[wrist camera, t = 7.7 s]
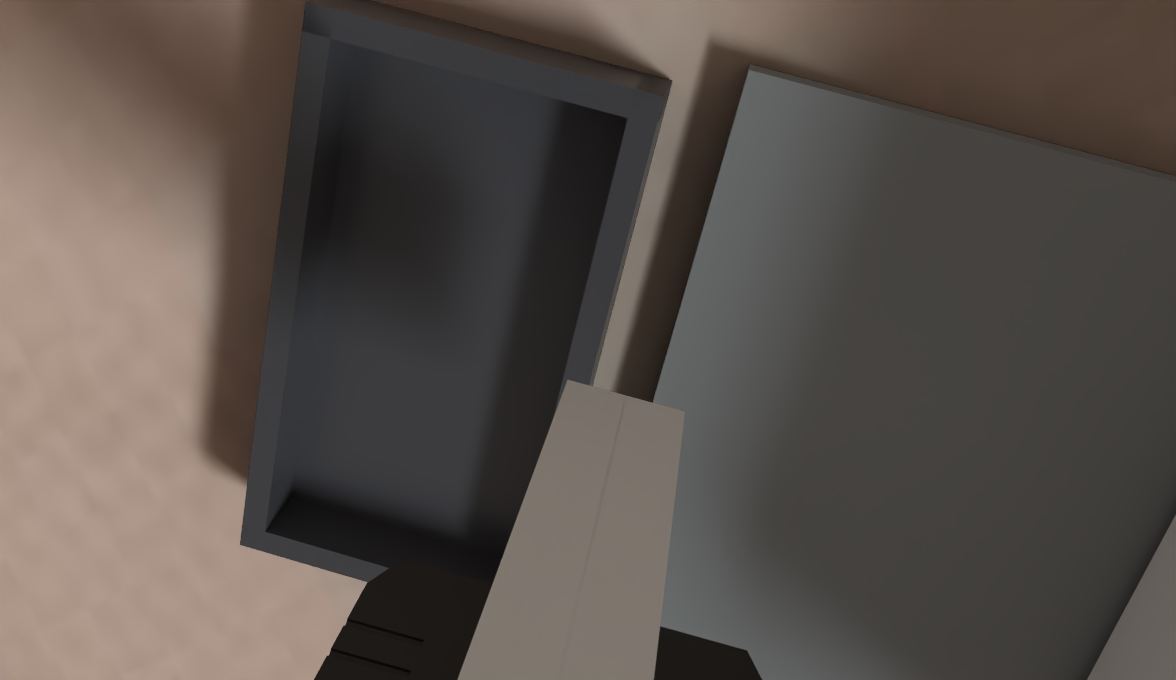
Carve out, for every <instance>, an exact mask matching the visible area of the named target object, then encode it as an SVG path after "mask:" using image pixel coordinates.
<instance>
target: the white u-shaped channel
mask: <svg viewBox="0 0 1176 680" xmlns="http://www.w3.org/2000/svg"><path fill="white" fill-rule="evenodd" d="M1087 680H1176V515H1175V517H1174V519H1173V521H1172V523H1171V524H1170V526H1169V528H1168V530H1167V532H1166V534H1165V536H1164V537H1163V539H1162V541H1161V543H1160V545H1159V547H1158V549H1157V550H1156V552H1155V554H1154V556H1153V558H1152V560H1151V562H1150V563H1149V565H1148V567H1147V569H1146V571H1145V573H1144V575H1143V576H1142V578H1141V580H1140V582H1139V584H1138V586H1137V588H1136V589H1135V591H1134V593H1133V595H1132V597H1131V599H1130V601H1129V602H1128V604H1127V606H1126V608H1125V610H1124V612H1123V614H1122V615H1121V617H1120V619H1119V621H1118V623H1117V625H1116V627H1115V629H1114V630H1113V632H1112V634H1111V636H1110V638H1109V640H1108V642H1107V643H1106V645H1105V647H1104V649H1103V651H1102V653H1101V655H1100V656H1099V658H1098V660H1097V662H1096V664H1095V666H1094V668H1093V669H1092V671H1091V673H1090V675H1089V677H1088V679H1087Z"/></svg>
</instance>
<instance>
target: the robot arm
mask: <svg viewBox="0 0 1176 680" xmlns="http://www.w3.org/2000/svg"><path fill="white" fill-rule="evenodd" d="M684 416H685V411H681V410H677V409H674V408H670V407H666V406H663V405H659V404H655V403H652V402H648V401H644V400H641V399H637V398H633V397H630V396H626V395H622V394H619V393H615V392H611V391H608V390H604V389H600V388H597V387H593V386H589V385H585V384H582V383H578V382H574V381H571V380H567V383H566V385H565V388H564V391H563V394H562V396H561V399H560V402H559V404H558V407H557V410H556V413H555V415H554V418H553V421H552V424H551V426H550V429H549V432H548V434H547V437H546V440H545V443H544V445H543V448H542V451H541V454H540V456H539V459H538V462H537V464H536V467H535V470H534V473H533V475H532V478H531V481H530V483H529V486H528V489H527V492H526V494H525V497H524V500H523V503H522V505H521V508H520V511H519V513H518V516H517V519H516V522H515V524H514V527H513V530H512V533H511V535H510V538H509V541H508V543H507V546H506V549H505V552H504V554H503V557H502V560H501V562H500V565H499V568H498V571H497V573H496V576H495V579H494V582H493V583H491V582H487V581H483V580H480V579H476V578H473V577H469V576H466V575H462V574H458V573H455V572H451V571H448V570H444V569H440V568H437V567H433V566H430V565H426V564H423V563H419V562H415V561H412V560H408V559H405V558H403V559H402V560H400V561H399V562H397V563H396V564H395V565H393V566H392V567H390V568H389V569H387V570H386V571H384V572H383V573H381V574H380V575H378V576H377V577H375V578H374V579H372V580H371V581H369V582H368V583H367V584H366V586H365V588H364V590H363V591H362V593H361V595H360V597H359V599H358V601H357V602H356V604H355V606H354V608H353V610H352V611H351V613H350V615H349V617H348V619H347V623H346V625H345V626H343V628H342V630H341V631H340V633H339V635H338V637H337V639H336V641H335V642H334V644H333V646H332V648H331V651H330V654H329V656H327V657H326V659H325V661H324V662H323V664H322V666H321V668H320V670H319V671H318V673H317V675H316V677H315V679H314V680H762V678H761V676H760V674H759V673H758V671H757V669H756V667H755V665H754V663H753V661H752V659H751V657H750V655H749V653H748V651H747V650H744V649H740V648H737V647H733V646H729V645H726V644H722V643H719V642H715V641H712V640H708V639H704V638H701V637H697V636H694V635H690V634H686V633H683V632H679V631H676V630H672V629H668V628H665V627H661V626H660V622H661V614H662V605H663V597H664V588H665V579H666V571H667V562H668V554H669V545H670V537H671V528H672V519H673V511H674V502H675V494H676V485H677V476H678V468H679V459H680V451H681V442H682V433H683V425H684Z"/></svg>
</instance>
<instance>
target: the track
mask: <svg viewBox="0 0 1176 680" xmlns="http://www.w3.org/2000/svg"><path fill="white" fill-rule="evenodd" d="M652 403H655V404H659V405H663V406H666V407H670V408H674V409H677V410H681V411H685V416H684V425H683V433H682V442H681V451H680V459H679V468H678V476H677V485H676V494H675V502H674V511H673V519H672V528H671V537H670V545H669V554H668V562H667V571H666V579H665V588H664V597H663V605H662V614H661V622H660V626H661V627H665V628H668V629H672V630H676V631H679V632H683V633H686V634H690V635H694V636H697V637H701V638H704V639H708V640H712V641H715V642H719V643H722V644H726V645H729V646H733V647H737V648H740V649H744V650H747V651H748V653H749V655H750V657H751V659H752V661H753V663H754V665H755V667H756V669H757V671H758V673H759V674H760V676H761V678H762V680H1087V679H1088V677H1089V675H1090V673H1091V671H1092V669H1093V668H1094V666H1095V664H1096V662H1097V660H1098V658H1099V656H1100V655H1101V653H1102V651H1103V649H1104V647H1105V645H1106V643H1107V642H1108V640H1109V638H1110V636H1111V634H1112V632H1113V630H1114V629H1115V627H1116V625H1117V623H1118V621H1119V619H1120V617H1121V615H1122V614H1123V612H1124V610H1125V608H1126V606H1127V604H1128V602H1129V601H1130V599H1131V597H1132V595H1133V593H1134V591H1135V589H1136V588H1137V586H1138V584H1139V582H1140V580H1141V578H1142V576H1143V575H1144V573H1145V571H1146V569H1147V567H1148V565H1149V563H1150V562H1151V560H1152V558H1153V556H1154V554H1155V552H1156V550H1157V549H1158V547H1159V545H1160V543H1161V541H1162V539H1163V537H1164V536H1165V534H1166V532H1167V530H1168V528H1169V526H1170V524H1171V523H1172V521H1173V519H1174V517H1175V515H1176V176H1174V175H1170V174H1166V173H1162V172H1159V171H1155V170H1151V169H1147V168H1143V167H1140V166H1136V165H1132V164H1128V163H1124V162H1121V161H1117V160H1113V159H1109V158H1105V157H1102V156H1098V155H1094V154H1090V153H1086V152H1083V151H1079V150H1075V149H1071V148H1067V147H1064V146H1060V145H1056V144H1052V143H1048V142H1045V141H1041V140H1037V139H1033V138H1029V137H1026V136H1022V135H1018V134H1014V133H1010V132H1007V131H1003V130H999V129H995V128H991V127H988V126H984V125H980V124H976V123H972V122H969V121H965V120H961V119H957V118H953V117H950V116H946V115H942V114H938V113H934V112H931V111H927V110H923V109H919V108H915V107H911V106H908V105H904V104H900V103H896V102H892V101H889V100H885V99H881V98H877V97H873V96H870V95H866V94H862V93H858V92H854V91H851V90H847V89H843V88H839V87H835V86H832V85H828V84H824V83H820V82H816V81H813V80H809V79H805V78H801V77H797V76H794V75H790V74H786V73H782V72H778V71H775V70H771V69H767V68H763V67H759V66H756V65H752V64H749V68H748V71H747V75H746V78H745V82H744V85H743V89H742V92H741V95H740V99H739V102H738V106H737V109H736V113H735V116H734V120H733V123H732V127H731V130H730V134H729V137H728V140H727V144H726V147H725V151H724V154H723V158H722V161H721V165H720V168H719V172H718V175H717V178H716V182H715V185H714V189H713V192H712V196H711V199H710V203H709V206H708V210H707V213H706V217H705V220H704V223H703V227H702V230H701V234H700V237H699V241H698V244H697V248H696V251H695V255H694V258H693V262H692V265H691V268H690V272H689V275H688V279H687V282H686V286H685V289H684V293H683V296H682V300H681V303H680V306H679V310H678V313H677V317H676V320H675V324H674V327H673V331H672V334H671V338H670V341H669V345H668V348H667V351H666V355H665V358H664V362H663V365H662V369H661V372H660V376H659V379H658V383H657V386H656V390H655V393H654V396H653V400H652Z"/></svg>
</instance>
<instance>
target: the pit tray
mask: <svg viewBox="0 0 1176 680" xmlns="http://www.w3.org/2000/svg"><path fill="white" fill-rule="evenodd" d="M671 84H672V80H668V79H665V78H661V77H657V76H653V75H650V74H646V73H642V72H638V71H635V70H631V69H627V68H623V67H619V66H616V65H612V64H608V63H604V62H601V61H597V60H593V59H589V58H585V57H582V56H578V55H574V54H570V53H567V52H563V51H559V50H555V49H551V48H548V47H544V46H540V45H536V44H533V43H529V42H525V41H521V40H517V39H514V38H510V37H506V36H502V35H499V34H495V33H491V32H487V31H483V30H480V29H476V28H472V27H468V26H465V25H461V24H457V23H453V22H449V21H446V20H442V19H438V18H434V17H431V16H427V15H423V14H419V13H416V12H412V11H408V10H404V9H400V8H397V7H393V6H389V5H385V4H382V3H378V2H374V1H370V0H310V1H306V4H305V12H304V20H303V29H302V37H301V45H300V53H299V62H298V70H297V78H296V86H295V95H294V103H293V111H292V120H291V128H290V136H289V144H288V153H287V161H286V169H285V177H284V186H283V194H282V202H281V210H280V219H279V227H278V235H277V243H276V252H275V260H274V268H273V276H272V285H271V293H270V301H269V309H268V318H267V326H266V334H265V342H264V351H263V359H262V367H261V375H260V384H259V392H258V400H257V409H256V417H255V425H254V433H253V442H252V450H251V458H250V466H249V475H248V483H247V491H246V499H245V508H244V516H243V524H242V532H241V541H240V545H243V546H246V547H250V548H253V549H256V550H260V551H263V552H267V553H270V554H274V555H277V556H280V557H284V558H287V559H291V560H294V561H297V562H301V563H304V564H308V565H311V566H314V567H318V568H321V569H325V570H328V571H332V572H335V573H338V574H342V575H345V576H349V577H352V578H355V579H359V580H362V581H366V582H369V581H371V580H372V579H374V578H375V577H377V576H378V575H380V574H381V573H383V572H384V571H386V570H387V569H389V568H390V567H392V566H393V565H395V564H396V563H397V562H399V561H400V560H402V559H403V558H405V559H408V560H412V561H415V562H419V563H423V564H426V565H430V566H433V567H437V568H440V569H444V570H448V571H451V572H455V573H458V574H462V575H466V576H469V577H473V578H476V579H480V580H483V581H487V582H491V583H493V582H494V579H495V576H496V573H497V571H498V568H499V565H500V562H501V560H502V557H503V554H504V552H505V549H506V546H507V543H508V541H509V538H510V535H511V533H512V530H513V527H514V524H515V522H516V519H517V516H518V513H519V511H520V508H521V505H522V503H523V500H524V497H525V494H526V492H527V489H528V486H529V483H530V481H531V478H532V475H533V473H534V470H535V467H536V464H537V462H538V459H539V456H540V454H541V451H542V448H543V445H544V443H545V440H546V437H547V434H548V432H549V429H550V426H551V424H552V421H553V418H554V415H555V413H556V410H557V407H558V404H559V402H560V399H561V396H562V394H563V391H564V388H565V385H566V383H567V380H571V381H574V382H578V383H582V384H585V385H589V386H593V382H594V378H595V375H596V371H597V367H598V363H599V359H600V355H601V352H602V348H603V344H604V340H605V336H606V333H607V329H608V325H609V321H610V317H611V313H612V310H613V306H614V302H615V298H616V294H617V291H618V287H619V283H620V279H621V275H622V271H623V268H624V264H625V260H626V256H627V252H628V249H629V245H630V241H631V237H632V233H633V229H634V226H635V222H636V218H637V214H638V210H639V207H640V203H641V199H642V195H643V191H644V187H645V184H646V180H647V176H648V172H649V168H650V165H651V161H652V157H653V153H654V149H655V145H656V142H657V138H658V134H659V130H660V126H661V123H662V119H663V115H664V111H665V107H666V104H667V100H668V96H669V92H670V88H671Z"/></svg>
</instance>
